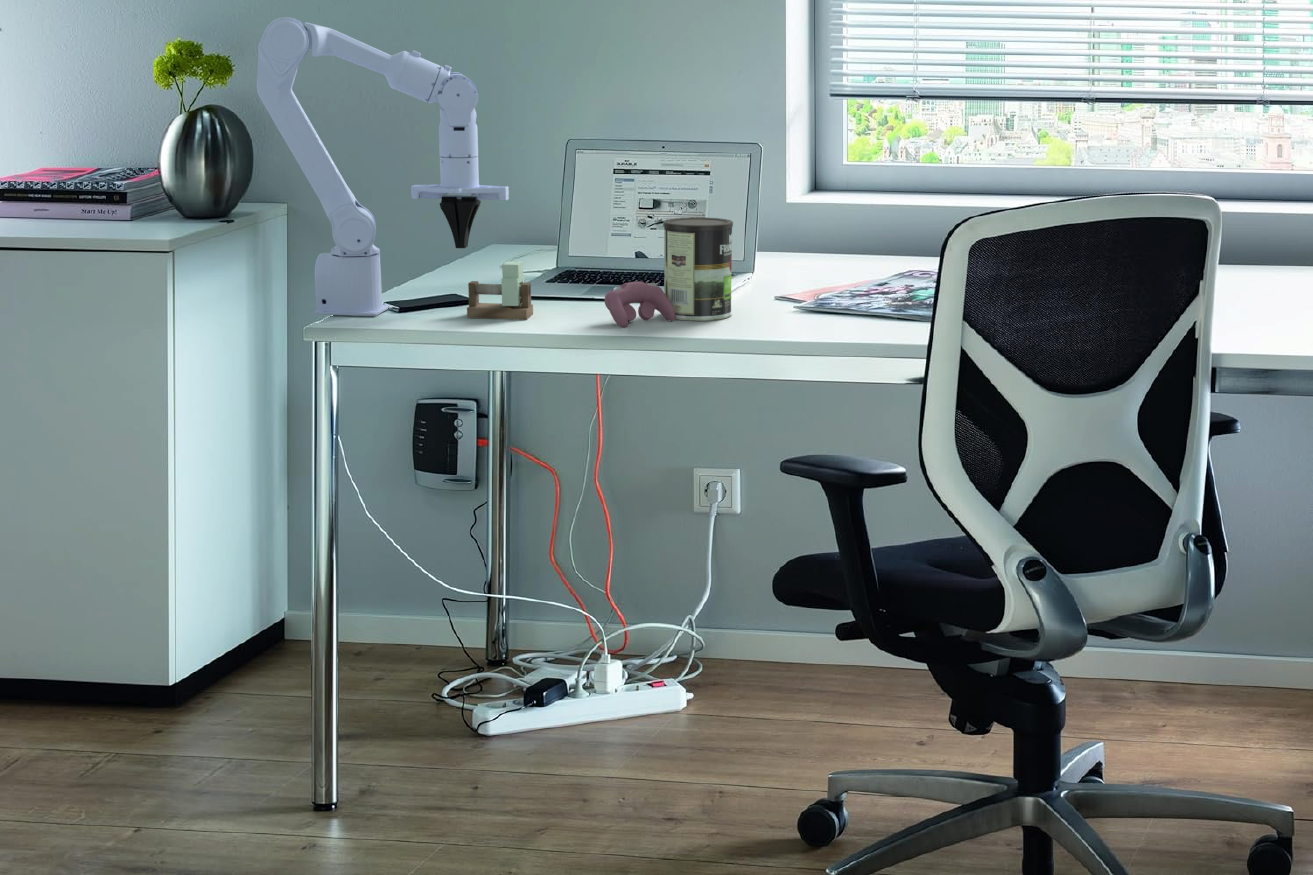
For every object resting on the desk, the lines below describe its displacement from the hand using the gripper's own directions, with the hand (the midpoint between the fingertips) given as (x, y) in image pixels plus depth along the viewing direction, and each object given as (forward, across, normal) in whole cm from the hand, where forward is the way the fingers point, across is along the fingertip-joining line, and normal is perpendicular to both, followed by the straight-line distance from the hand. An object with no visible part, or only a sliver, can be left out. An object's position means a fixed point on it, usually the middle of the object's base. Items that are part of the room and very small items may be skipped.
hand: (461, 247), depth 235 cm
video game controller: (+10, +28, -6) cm, 30 cm away
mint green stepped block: (+7, +9, -5) cm, 13 cm away
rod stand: (+9, +7, -5) cm, 13 cm away
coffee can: (+10, +36, +1) cm, 37 cm away
